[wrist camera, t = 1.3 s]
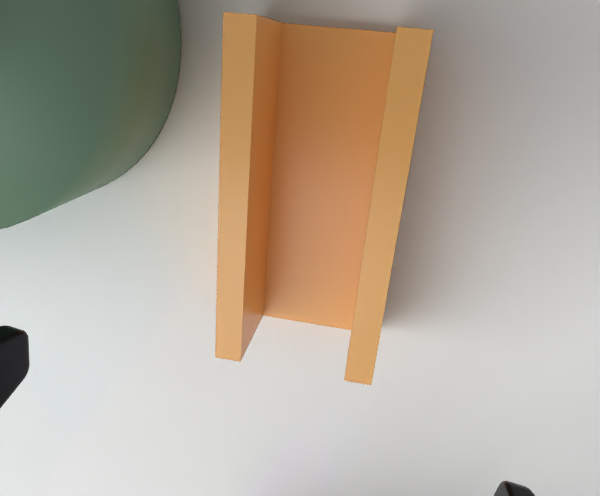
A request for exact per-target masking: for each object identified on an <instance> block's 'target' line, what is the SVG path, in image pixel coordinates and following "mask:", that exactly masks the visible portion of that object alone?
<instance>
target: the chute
mask: <svg viewBox="0 0 600 496" xmlns="http://www.w3.org/2000/svg"><path fill="white" fill-rule="evenodd" d="M433 31H434V30H431V29H419V28H407V27H397V29H396V33H393V32H381V31H370V30H358V29H347V28H335V27H324V26H312V25H301V24H289V23H281V22H278V21H275V20H272V19H269V18H266V17H262V16H259V15H255V14H243V13H232V12H223V42H222V86H221V129H220V173H219V217H218V261H217V305H216V349H215V357H217V358H223V359H228V360H234V361H239V362H241V359H242V357H243V355H244V353H245V351H246V349H247V347H248V345H249V343H250V341H251V339H252V337H253V335H254V333H255V331H256V329H257V327H258V325H259V323H260V321H261V319H262V317H263V315H264V316H270V317H276V318H282V319H288V320H294V321H300V322H306V323H312V324H318V325H324V326H330V327H336V328H342V329H348V330H351V336H350V343H349V351H348V358H347V365H346V372H345V379H344V380H345V381H351V382H356V383H362V384H367V385H371V384H372V378H373V372H374V367H375V361H376V355H377V350H378V344H379V338H380V332H381V327H382V321H383V315H384V310H385V304H386V298H387V293H388V287H389V281H390V276H391V270H392V264H393V259H394V253H395V247H396V241H397V236H398V230H399V224H400V219H401V213H402V207H403V202H404V196H405V190H406V185H407V179H408V173H409V168H410V162H411V156H412V150H413V145H414V139H415V133H416V128H417V122H418V116H419V111H420V105H421V99H422V94H423V88H424V82H425V76H426V71H427V65H428V59H429V54H430V48H431V42H432V37H433Z"/></svg>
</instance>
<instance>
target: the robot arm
mask: <svg viewBox="0 0 600 496" xmlns="http://www.w3.org/2000/svg"><path fill="white" fill-rule="evenodd" d="M28 369H29V342H28V335H27V333H26V332H25V331H23V330H20V329H17V328H14V327H11V326H0V408H1V407H2V406H3V404H4V403H5V402H6V401H7V399H8V398H9V397H10V396H11V394H12V393H13V392H14V391H15V389H16V388H17V387H18V386H19V384H20V383H21V382H22V381H23V379H24V378H25V376H26V374H27V372H28ZM494 496H535V495H534V494H533V492H532V491H531V490H530V489H529V488H527V487H525V486H522V485H519V484H516V483H512V482H509V481H503V482H502V483H501V484H500V485H499V486H498V488H497V490H496V492H495V494H494Z"/></svg>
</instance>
